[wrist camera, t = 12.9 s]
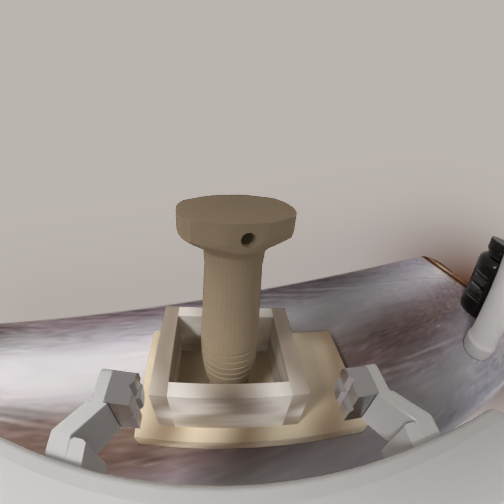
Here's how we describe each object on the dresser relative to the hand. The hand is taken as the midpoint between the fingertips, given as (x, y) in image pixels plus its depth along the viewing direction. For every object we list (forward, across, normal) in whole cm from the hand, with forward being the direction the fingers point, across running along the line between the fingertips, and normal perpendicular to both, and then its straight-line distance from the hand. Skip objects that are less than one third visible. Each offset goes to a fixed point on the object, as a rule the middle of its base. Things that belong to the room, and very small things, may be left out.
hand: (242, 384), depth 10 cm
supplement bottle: (+16, -40, +12) cm, 45 cm away
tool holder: (+8, -2, +12) cm, 14 cm away
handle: (+8, 0, +11) cm, 13 cm away
